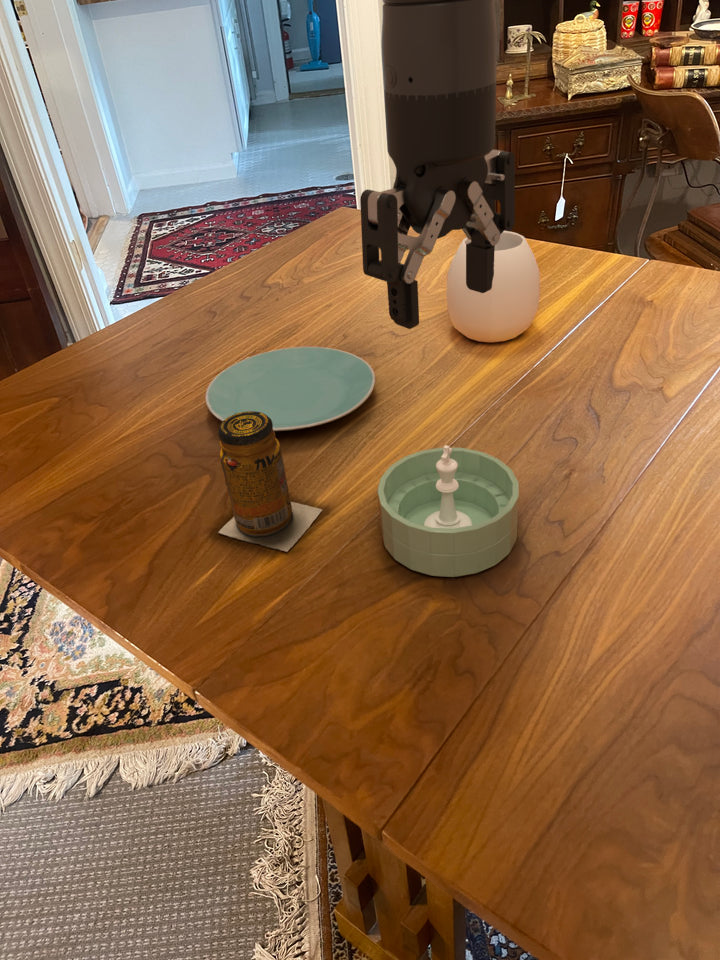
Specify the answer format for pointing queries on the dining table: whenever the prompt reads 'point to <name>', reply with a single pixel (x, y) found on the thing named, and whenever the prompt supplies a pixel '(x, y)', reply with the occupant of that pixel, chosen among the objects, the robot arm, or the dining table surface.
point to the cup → (496, 292)
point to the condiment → (259, 484)
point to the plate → (293, 386)
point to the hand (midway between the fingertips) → (444, 306)
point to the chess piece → (447, 496)
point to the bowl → (480, 496)
